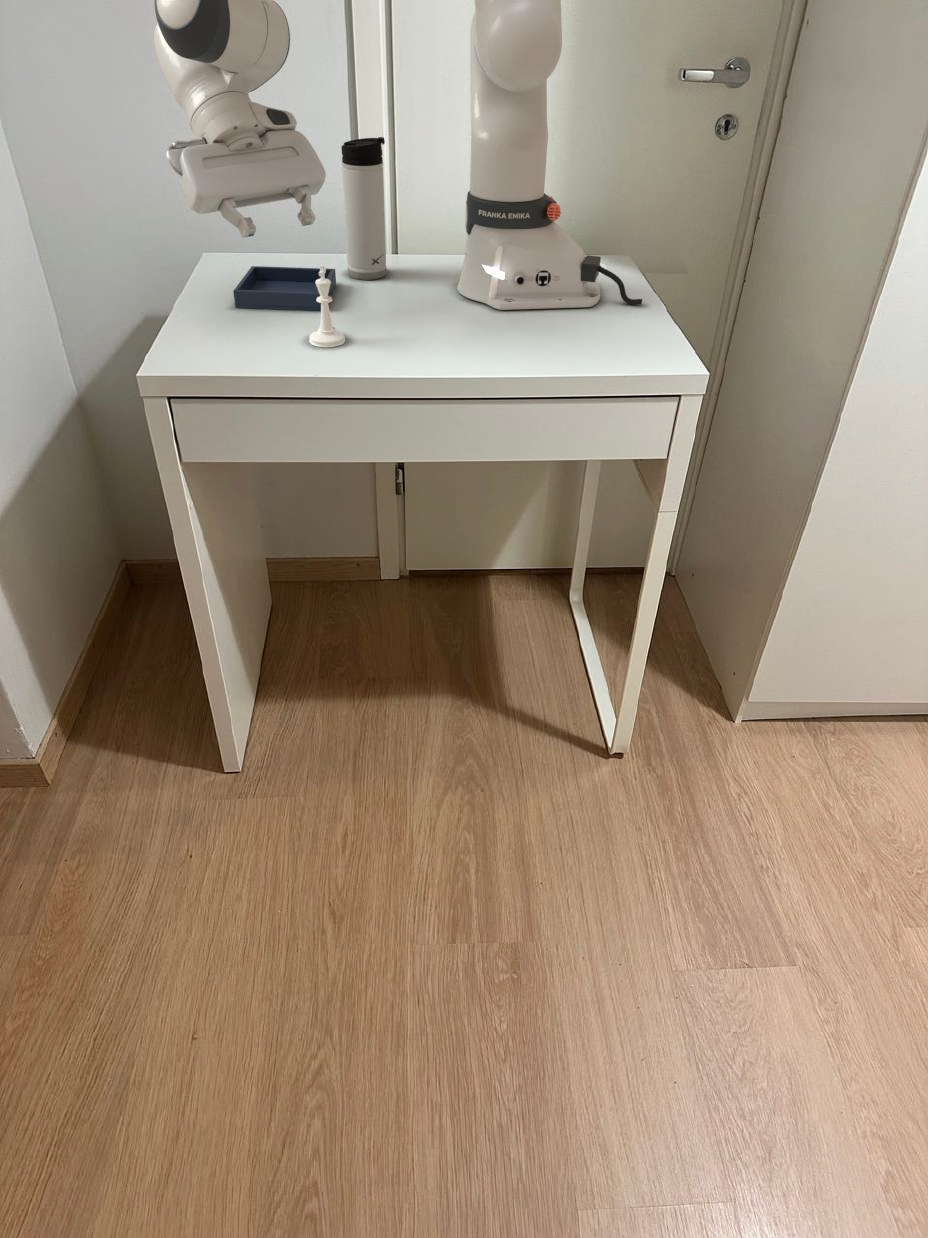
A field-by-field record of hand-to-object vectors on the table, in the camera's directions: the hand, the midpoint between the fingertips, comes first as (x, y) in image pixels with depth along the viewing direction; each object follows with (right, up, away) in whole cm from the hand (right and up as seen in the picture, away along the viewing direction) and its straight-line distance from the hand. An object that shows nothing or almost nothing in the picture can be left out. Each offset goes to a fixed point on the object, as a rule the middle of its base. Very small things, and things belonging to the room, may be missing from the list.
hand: (280, 228), depth 118 cm
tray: (-3, -3, +17) cm, 17 cm away
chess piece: (+6, -14, +3) cm, 16 cm away
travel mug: (+9, +4, +26) cm, 28 cm away
